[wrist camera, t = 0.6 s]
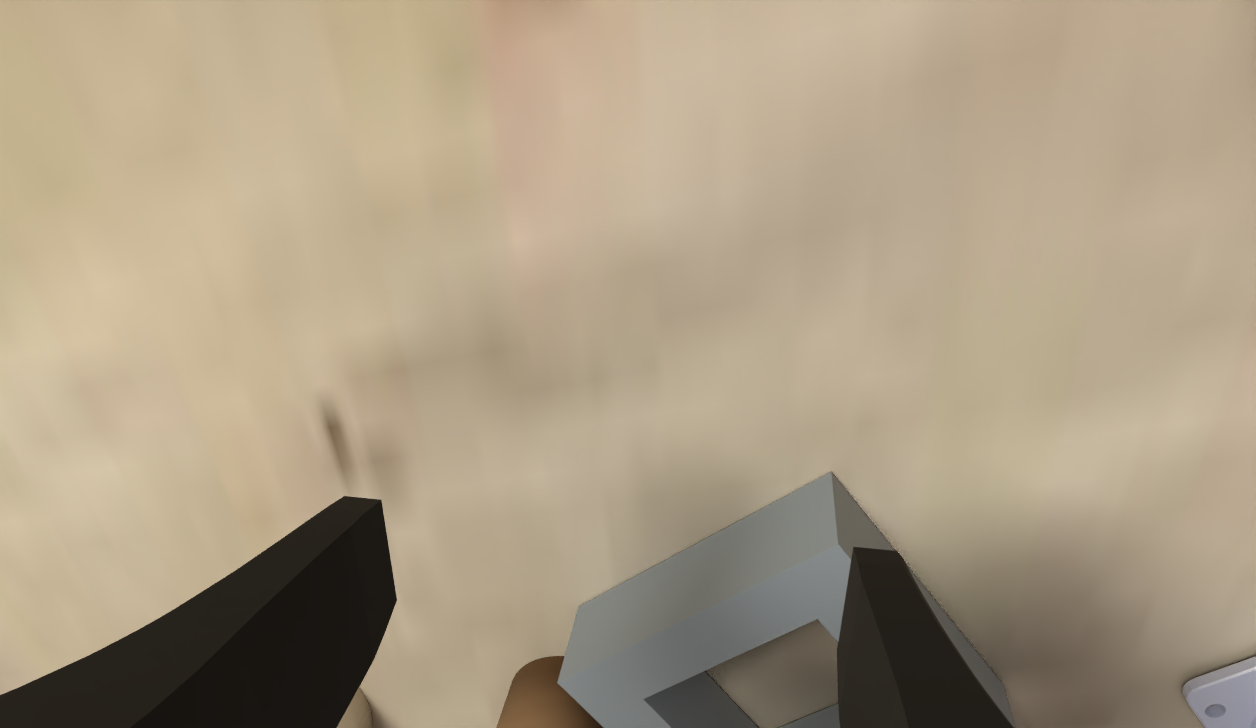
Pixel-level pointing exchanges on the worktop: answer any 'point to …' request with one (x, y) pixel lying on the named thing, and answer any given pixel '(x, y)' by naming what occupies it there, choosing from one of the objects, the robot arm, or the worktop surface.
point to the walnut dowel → (542, 700)
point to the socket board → (728, 615)
